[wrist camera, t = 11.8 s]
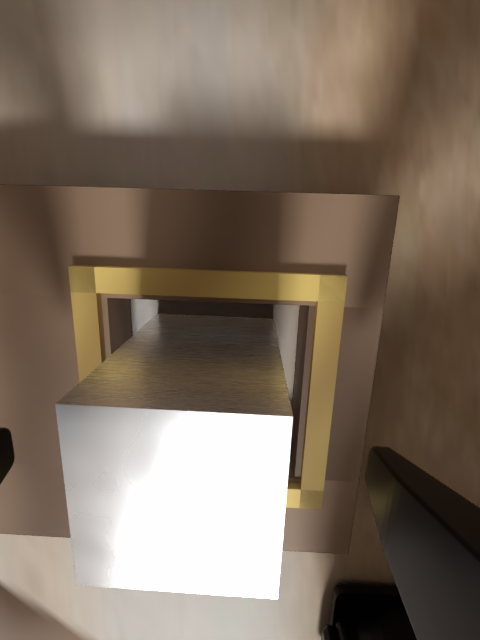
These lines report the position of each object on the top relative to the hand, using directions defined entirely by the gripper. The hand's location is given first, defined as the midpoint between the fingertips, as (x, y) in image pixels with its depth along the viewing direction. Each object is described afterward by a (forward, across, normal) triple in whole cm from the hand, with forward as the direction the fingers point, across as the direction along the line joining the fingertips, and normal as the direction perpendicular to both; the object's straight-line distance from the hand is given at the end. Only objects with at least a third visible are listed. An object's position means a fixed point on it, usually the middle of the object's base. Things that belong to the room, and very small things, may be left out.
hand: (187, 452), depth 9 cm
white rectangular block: (+5, 0, 0) cm, 5 cm away
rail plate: (+5, +6, 0) cm, 8 cm away
